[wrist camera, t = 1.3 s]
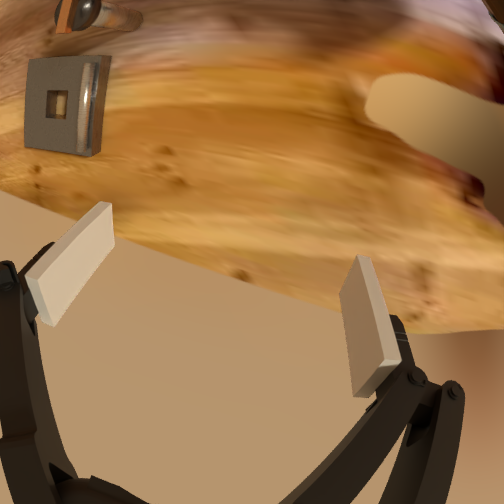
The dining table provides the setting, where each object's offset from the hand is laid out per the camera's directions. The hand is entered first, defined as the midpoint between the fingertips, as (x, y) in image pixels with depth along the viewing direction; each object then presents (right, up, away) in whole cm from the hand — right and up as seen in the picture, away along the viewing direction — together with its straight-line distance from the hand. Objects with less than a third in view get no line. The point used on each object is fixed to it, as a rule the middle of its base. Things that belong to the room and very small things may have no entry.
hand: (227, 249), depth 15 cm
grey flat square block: (-25, +21, +18) cm, 38 cm away
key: (-14, +29, +12) cm, 34 cm away
